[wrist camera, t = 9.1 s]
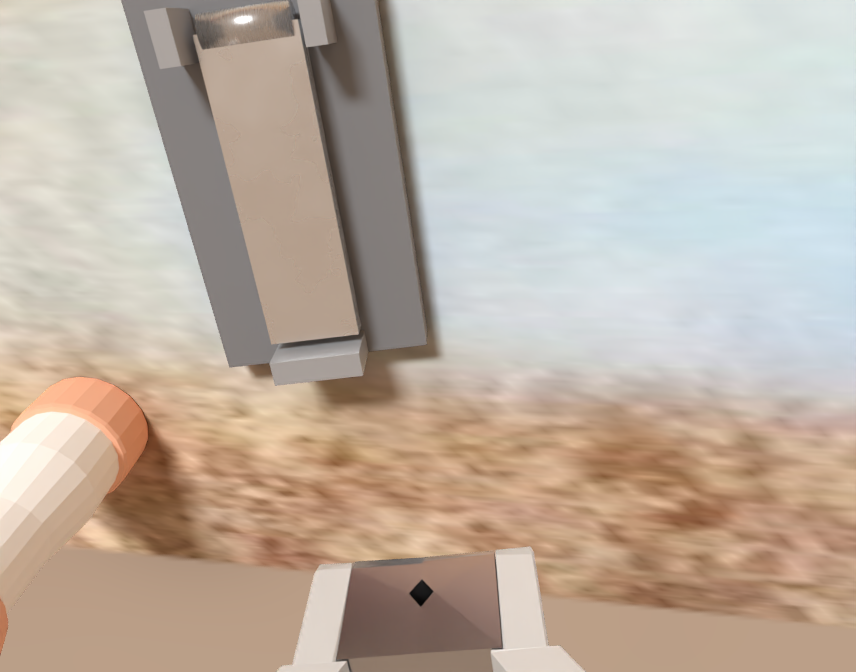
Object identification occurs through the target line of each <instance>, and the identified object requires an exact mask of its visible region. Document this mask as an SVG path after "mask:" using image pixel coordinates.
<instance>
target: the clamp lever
mask: <svg viewBox="0 0 856 672" xmlns="http://www.w3.org/2000/svg"><path fill="white" fill-rule="evenodd" d="M195 29H196V34H197V35H193V39H194V43H195V47H196V51H197V55H198V59H199V62H200V66H201V70H202V74H203V78H204V82H205V86H206V90H207V94H208V98H209V102H210V106H211V110H212V113H213V117H214V121H215V125H216V129H217V133H218V137H219V141H220V145H221V149H222V153H223V157H224V161H225V164H226V168H227V172H228V176H229V180H230V184H231V188H232V192H233V196H234V200H235V204H236V208H237V212H238V215H239V219H240V223H241V227H242V231H243V235H244V239H245V243H246V247H247V251H248V255H249V259H250V263H251V266H252V270H253V274H254V278H255V282H256V286H257V290H258V294H259V298H260V302H261V306H262V310H263V314H264V317H265V321H266V325H267V329H268V333H269V337H270V341H271V345H272V344H280V343H289V342H297V341H306V340H315V339H323V338H332V337H340V336H349V335H357V334H359V332H360V329H361V322H360V316H359V311H358V306H357V301H356V296H355V290H354V285H353V280H352V275H351V269H350V264H349V259H348V254H347V249H346V243H345V238H344V233H343V228H342V223H341V217H340V212H339V207H338V202H337V196H336V191H335V186H334V181H333V176H332V170H331V165H330V160H329V155H328V150H327V144H326V139H325V134H324V129H323V123H322V118H321V113H320V108H319V103H318V97H317V92H316V87H315V82H314V77H313V71H312V66H311V61H310V56H309V50H308V47H306V43H305V38H304V33H303V28H302V23H301V19H297V15H296V12H295V8H294V5H293V3H292V1H291V0H280V1H274V2H267V3H261V4H254V5H248V6H241V7H235V8H228V9H222V10H215V11H209V12H202V13H197V14H196V15H195Z"/></svg>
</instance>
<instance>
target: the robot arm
mask: <svg viewBox="0 0 856 672" xmlns="http://www.w3.org/2000/svg"><path fill="white" fill-rule="evenodd" d="M276 672H586V671H585V670H584V669H583V668H582V667H581V666H580V665H579V664H578V663H577V662H576V661H575V660H574V659H573V658H572V657H571V656H570V655H569V654H568V653H567V652H566V651H565V650H564V649H563V648H562V647H561V646H549V644H548V638H547V632H546V626H545V619H544V613H543V607H542V601H541V595H540V588H539V582H538V576H537V570H536V564H535V558H534V552H533V550H532V549H531V547H522V548H512V549H502V550H496V559H495V552H494V551H485V552H474V553H463V554H453V555H442V556H432V557H425V558H408V559H392V560H375V561H359V562H355V563H340V564H320V566H319V567H318V569H317V570H316V572H315V573H314V577H313V581H312V585H311V590H310V594H309V598H308V602H307V606H306V610H305V614H304V619H303V623H302V627H301V631H300V635H299V639H298V643H297V647H296V652H295V656H294V660H293V664H292V665H285V666H281V667H280V668H279V669H278V670H277V671H276Z"/></svg>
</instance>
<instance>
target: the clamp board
mask: <svg viewBox="0 0 856 672" xmlns="http://www.w3.org/2000/svg"><path fill="white" fill-rule="evenodd" d="M121 1H122V5H123V8H124V11H125V15H126V18H127V22H128V25H129V28H130V32H131V35H132V38H133V42H134V45H135V49H136V52H137V55H138V59H139V62H140V66H141V69H142V72H143V76H144V79H145V83H146V86H147V89H148V93H149V96H150V100H151V103H152V106H153V110H154V113H155V116H156V120H157V123H158V127H159V130H160V133H161V137H162V140H163V144H164V147H165V150H166V154H167V157H168V161H169V164H170V167H171V171H172V174H173V177H174V181H175V184H176V188H177V191H178V194H179V198H180V201H181V205H182V208H183V211H184V215H185V218H186V222H187V225H188V228H189V232H190V235H191V238H192V242H193V245H194V249H195V252H196V255H197V259H198V262H199V266H200V269H201V272H202V276H203V279H204V283H205V286H206V289H207V293H208V296H209V300H210V303H211V306H212V310H213V313H214V316H215V320H216V323H217V327H218V330H219V333H220V337H221V340H222V344H223V347H224V350H225V354H226V357H227V361H228V364H229V367H238V366H247V365H256V364H264V363H269V365H270V368H271V372H272V376H273V380H274V383H275V386H277V385H286V384H295V383H303V382H312V381H321V380H330V379H339V378H348V377H357V376H363V374H364V370H365V365H366V360H367V355H368V352H369V351H377V350H386V349H395V348H403V347H412V346H421V345H427V325H426V319H425V312H424V305H423V299H422V292H421V285H420V279H419V272H418V265H417V259H416V252H415V245H414V238H413V232H412V225H411V218H410V212H409V205H408V198H407V192H406V185H405V178H404V172H403V165H402V158H401V152H400V145H399V138H398V132H397V125H396V118H395V112H394V105H393V98H392V91H391V85H390V78H389V71H388V65H387V58H386V51H385V45H384V38H383V31H382V25H381V18H380V11H379V5H378V0H291V1H292V3H293V5H294V8H295V12H296V15H297V19H301V23H302V28H303V33H304V38H305V43H306V47H308V50H309V56H310V61H311V66H312V71H313V77H314V82H315V87H316V92H317V97H318V103H319V108H320V113H321V118H322V123H323V129H324V134H325V139H326V144H327V150H328V155H329V160H330V165H331V170H332V176H333V181H334V186H335V191H336V196H337V202H338V207H339V212H340V217H341V223H342V228H343V233H344V238H345V243H346V249H347V254H348V259H349V264H350V269H351V275H352V280H353V285H354V290H355V296H356V301H357V306H358V311H359V316H360V322H361V329H360V332H359V334H357V335H349V336H340V337H332V338H323V339H315V340H306V341H297V342H289V343H280V344H272V345H271V341H270V337H269V333H268V329H267V325H266V321H265V317H264V314H263V310H262V306H261V302H260V298H259V294H258V290H257V286H256V282H255V278H254V274H253V270H252V266H251V263H250V259H249V255H248V251H247V247H246V243H245V239H244V235H243V231H242V227H241V223H240V219H239V215H238V212H237V208H236V204H235V200H234V196H233V192H232V188H231V184H230V180H229V176H228V172H227V168H226V164H225V161H224V157H223V153H222V149H221V145H220V141H219V137H218V133H217V129H216V125H215V121H214V117H213V113H212V110H211V106H210V102H209V98H208V94H207V90H206V86H205V82H204V78H203V74H202V70H201V66H200V62H199V59H198V55H197V51H196V47H195V43H194V39H193V35H197V34H196V29H195V15H196V14H197V13H202V12H209V11H215V10H222V9H228V8H235V7H241V6H248V5H254V4H261V3H267V2H274V1H280V0H121Z"/></svg>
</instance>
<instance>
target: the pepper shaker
mask: <svg viewBox="0 0 856 672" xmlns="http://www.w3.org/2000/svg"><path fill="white" fill-rule="evenodd" d="M147 440H148V427H147V422H146V420H145V417H144V415H143V413H142V410H141V409H140V407H139V406H138V405H137V404H136V403H135V402H134V400H133V399H132V398H131V397H130V396H129V395H128V394H126V393H125V392H123V391H122V390H120V389H119V388H118V387H116V386H115V385H112V384H109V383H107V382H104V381H102V380H99V379H94V378H86V377H75V378H69V379H63V380H61V381H60V382H58V383H56V384H54V385H52V386H50V387H49V388H48V389H47V390H46V391H45V392H44V393H43V394H42V395H41V396H39V397H38V398H37V399H36V400H35V401H34V402H33V403H32V404H31V405H30V406H29V407H28V408H27V409H26V410H25V411H24V412H22V413H21V415H20V416H19V417H18V418H17V420H16V421H15V422H14V424H13V425H12V428H11V432H10V434H9V435H8V436H7V437H5V438H4V439H3V440H2V441H1V442H0V654H1V651H2V648H3V644H4V641H5V637H6V633H7V629H8V618H7V614H8V613H9V612H10V610H11V609H12V607H13V606H14V605H15V604H16V602H17V601H18V600H19V598H20V597H21V596H22V594H23V593H24V591H25V590H26V589H27V587H28V586H29V585H30V583H31V582H32V581H33V579H34V578H35V576H36V575H37V574H38V573H39V571H40V570H41V568H42V567H43V566H44V564H45V563H46V562H47V561H48V560H49V559H50V558H51V557H52V556H53V555H54V554H55V553H56V552H57V551H58V550H59V549H60V548H62V547H63V546H64V545H65V544H66V543H67V542H68V541H69V540H70V539H71V538H72V537H73V536H74V535H75V534H76V533H77V532H78V531H79V530H80V529H81V528H82V527H83V526H84V525H85V524H86V523H87V522H88V520H89V519H90V518H91V517H92V516H93V514H94V513H95V511H96V509H97V508H98V506H99V505H100V503H101V502H102V500H103V499H104V497H105V496H106V495H107V494H109V493H111V492H113V491H114V490H115V489H116V488H117V487H118V486H119V485H120V484H121V483H122V481H123V480H124V479H125V477H126V476H127V474H128V473H129V472H130V470H131V469H132V467H133V466H134V464H135V463H136V461H137V460H138V458H139V457H140V456H141V454H142V453H143V451H144V449H145V446H146V443H147Z"/></svg>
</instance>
